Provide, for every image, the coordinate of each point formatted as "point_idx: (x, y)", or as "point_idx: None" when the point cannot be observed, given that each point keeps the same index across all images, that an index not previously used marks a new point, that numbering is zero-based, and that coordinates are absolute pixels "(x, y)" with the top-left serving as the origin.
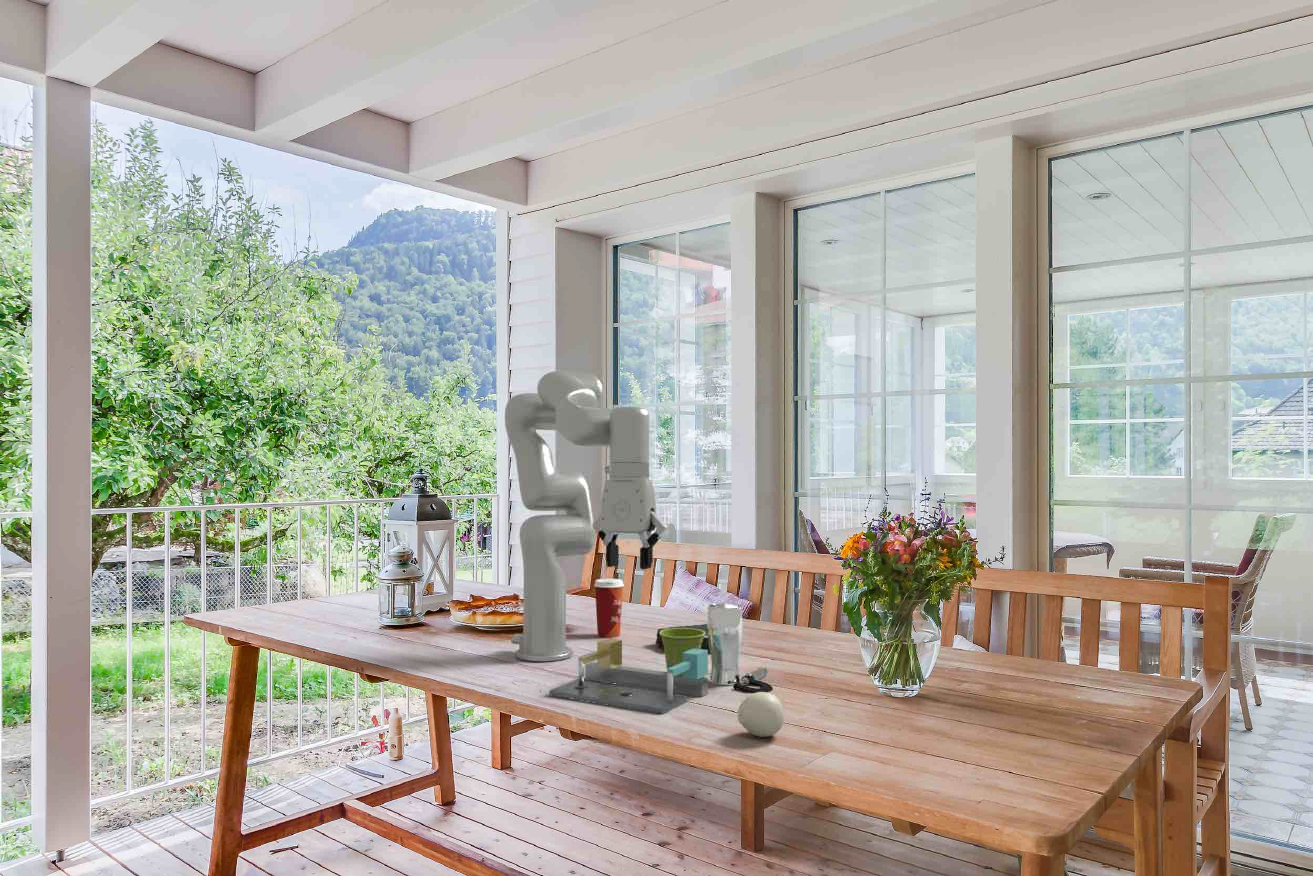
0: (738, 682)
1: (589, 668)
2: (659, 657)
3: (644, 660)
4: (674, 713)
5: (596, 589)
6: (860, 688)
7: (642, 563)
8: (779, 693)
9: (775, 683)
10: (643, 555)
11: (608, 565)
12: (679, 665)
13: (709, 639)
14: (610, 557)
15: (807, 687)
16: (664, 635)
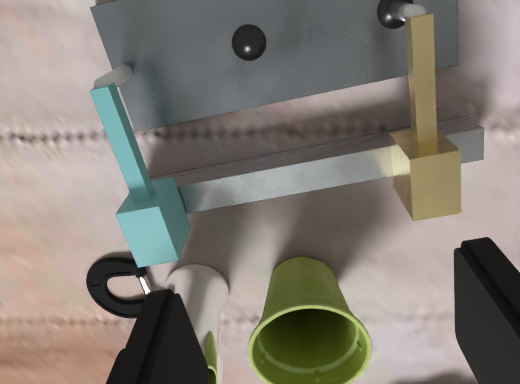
0: (140, 277)
1: (465, 128)
2: (435, 352)
3: (448, 320)
4: (85, 34)
5: None
6: (6, 381)
7: (141, 316)
8: (66, 287)
9: (123, 332)
10: (120, 379)
11: (473, 241)
12: (117, 141)
13: (197, 333)
14: (487, 295)
15: (65, 342)
16: (325, 307)
